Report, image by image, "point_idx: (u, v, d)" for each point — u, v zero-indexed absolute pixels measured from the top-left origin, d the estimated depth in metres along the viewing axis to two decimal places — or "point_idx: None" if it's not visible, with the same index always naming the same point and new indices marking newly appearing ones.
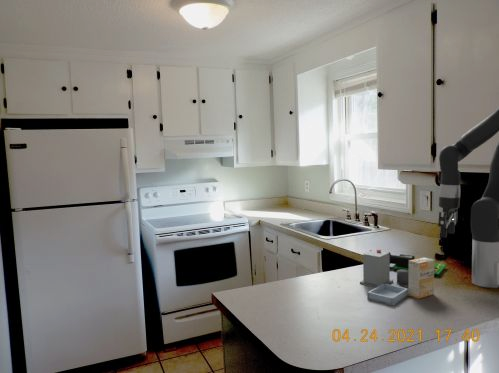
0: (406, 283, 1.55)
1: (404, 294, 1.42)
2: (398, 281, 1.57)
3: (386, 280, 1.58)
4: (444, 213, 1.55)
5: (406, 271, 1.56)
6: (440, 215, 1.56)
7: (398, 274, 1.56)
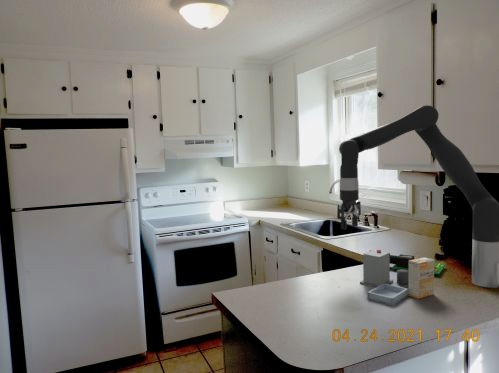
0: (406, 283, 1.55)
1: (404, 294, 1.42)
2: (398, 281, 1.57)
3: (386, 280, 1.58)
4: (341, 205, 1.60)
5: (406, 271, 1.56)
6: (338, 207, 1.61)
7: (398, 274, 1.56)
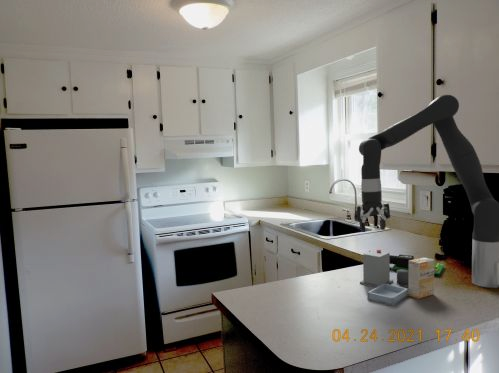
0: (406, 283, 1.55)
1: (404, 294, 1.42)
2: (398, 281, 1.57)
3: (386, 280, 1.58)
4: (357, 207, 1.55)
5: (406, 271, 1.56)
6: (355, 209, 1.57)
7: (398, 274, 1.56)
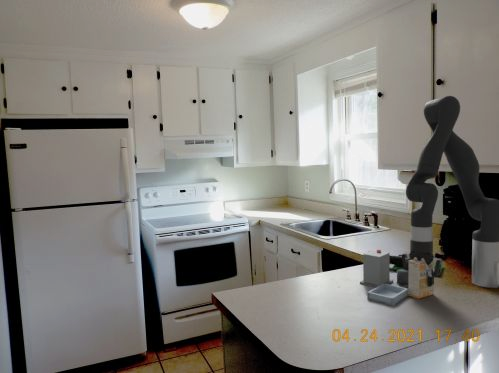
0: (406, 283, 1.55)
1: (404, 294, 1.42)
2: (398, 281, 1.57)
3: (386, 280, 1.58)
4: None
5: (406, 271, 1.56)
6: None
7: (398, 274, 1.57)
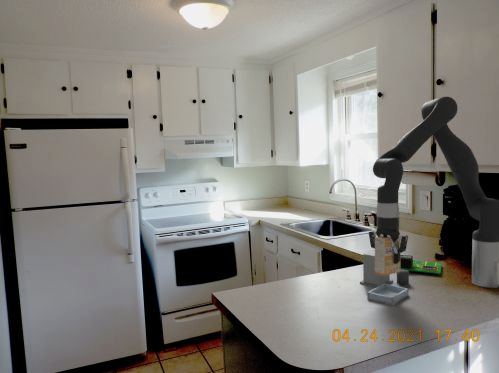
0: (405, 283, 1.55)
1: (404, 294, 1.42)
2: (397, 281, 1.57)
3: (386, 280, 1.58)
4: None
5: (406, 271, 1.56)
6: None
7: (397, 274, 1.57)
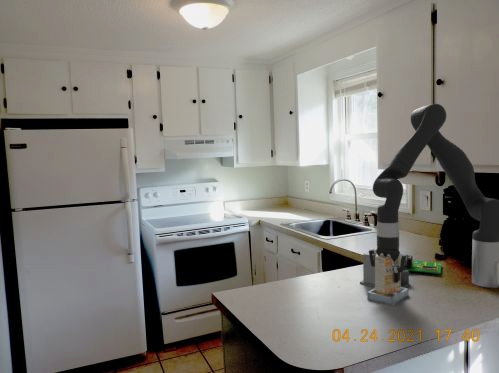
0: (405, 283, 1.55)
1: (404, 294, 1.42)
2: None
3: None
4: None
5: (406, 271, 1.56)
6: None
7: None
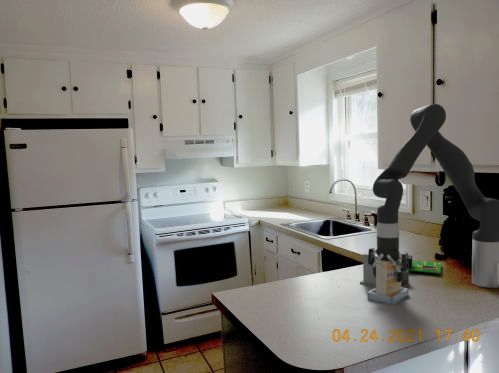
0: (405, 283, 1.55)
1: (404, 294, 1.42)
2: None
3: None
4: None
5: (405, 271, 1.56)
6: None
7: None
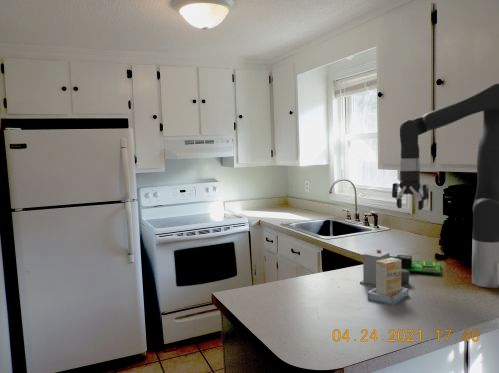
0: (404, 283, 1.55)
1: (404, 294, 1.42)
2: None
3: None
4: None
5: (406, 271, 1.56)
6: None
7: None
